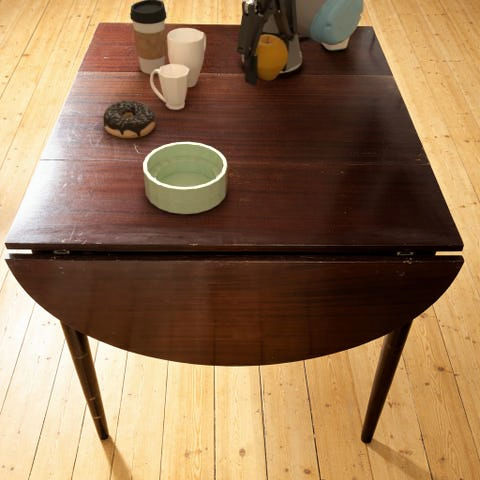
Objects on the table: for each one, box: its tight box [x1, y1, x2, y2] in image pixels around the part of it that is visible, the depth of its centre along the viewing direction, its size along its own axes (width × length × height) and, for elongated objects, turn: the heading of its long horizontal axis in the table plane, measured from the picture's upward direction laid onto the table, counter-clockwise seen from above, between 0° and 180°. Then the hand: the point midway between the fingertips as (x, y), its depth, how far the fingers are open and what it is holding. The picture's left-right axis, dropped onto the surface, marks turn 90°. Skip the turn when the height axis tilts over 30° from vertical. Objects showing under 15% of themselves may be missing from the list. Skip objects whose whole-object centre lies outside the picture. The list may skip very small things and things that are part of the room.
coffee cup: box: [129, 0, 167, 75], centre depth 146 cm, size 8×8×15 cm
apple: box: [250, 35, 288, 82], centre depth 131 cm, size 9×9×9 cm
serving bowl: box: [142, 141, 228, 215], centre depth 115 cm, size 15×15×6 cm
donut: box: [102, 99, 156, 139], centre depth 131 cm, size 11×12×4 cm
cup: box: [149, 63, 190, 110], centre depth 137 cm, size 7×10×8 cm
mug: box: [166, 27, 207, 88], centre depth 143 cm, size 12×8×11 cm
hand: (265, 76), depth 134 cm, fingers closed on apple, 9 cm apart
